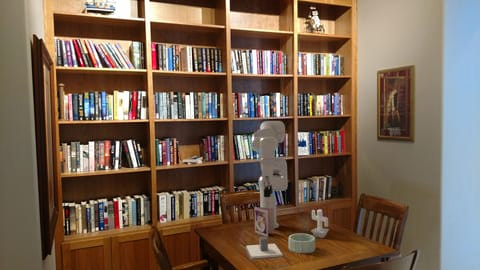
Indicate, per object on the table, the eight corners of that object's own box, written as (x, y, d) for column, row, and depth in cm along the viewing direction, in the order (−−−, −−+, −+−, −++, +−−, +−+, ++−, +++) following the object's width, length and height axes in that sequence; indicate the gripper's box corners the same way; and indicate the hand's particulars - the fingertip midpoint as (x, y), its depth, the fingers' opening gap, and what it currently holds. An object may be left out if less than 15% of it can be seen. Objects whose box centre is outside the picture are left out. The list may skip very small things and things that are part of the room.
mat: (244, 247, 196) (244, 247, 196) (276, 245, 198) (276, 244, 198) (249, 260, 179) (249, 259, 179) (284, 257, 182) (284, 256, 182)
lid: (246, 247, 195) (246, 234, 195) (274, 245, 197) (274, 232, 197) (251, 258, 180) (251, 244, 180) (282, 256, 182) (282, 242, 182)
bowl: (285, 245, 198) (285, 234, 198) (309, 243, 200) (309, 232, 200) (293, 254, 185) (293, 242, 185) (318, 252, 187) (318, 241, 187)
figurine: (324, 239, 206) (324, 212, 205) (309, 236, 212) (309, 210, 211) (330, 236, 212) (330, 209, 211) (315, 233, 218) (315, 207, 217)
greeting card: (253, 232, 221) (253, 207, 220) (263, 229, 225) (263, 205, 224) (266, 237, 212) (266, 211, 211) (276, 234, 216) (276, 208, 215)
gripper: (262, 160, 201) (262, 192, 202) (258, 163, 184) (258, 198, 185) (276, 160, 200) (276, 192, 200) (273, 163, 183) (274, 198, 183)
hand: (268, 195), depth 192 cm, fingers open, 9 cm apart
